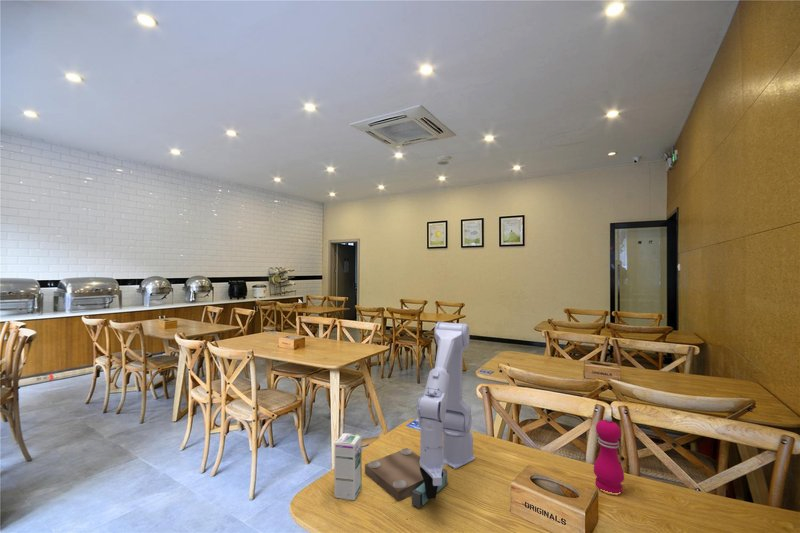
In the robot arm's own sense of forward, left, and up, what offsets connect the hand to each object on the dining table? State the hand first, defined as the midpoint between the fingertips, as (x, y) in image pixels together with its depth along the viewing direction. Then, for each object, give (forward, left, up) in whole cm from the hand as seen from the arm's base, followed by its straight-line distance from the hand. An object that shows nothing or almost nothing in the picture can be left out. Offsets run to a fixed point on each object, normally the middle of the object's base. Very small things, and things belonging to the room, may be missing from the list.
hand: (431, 498), depth 87 cm
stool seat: (-2, -14, -2) cm, 14 cm away
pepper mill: (-44, +25, -2) cm, 50 cm away
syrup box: (+14, -17, -2) cm, 22 cm away
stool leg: (-3, -3, -1) cm, 5 cm away
